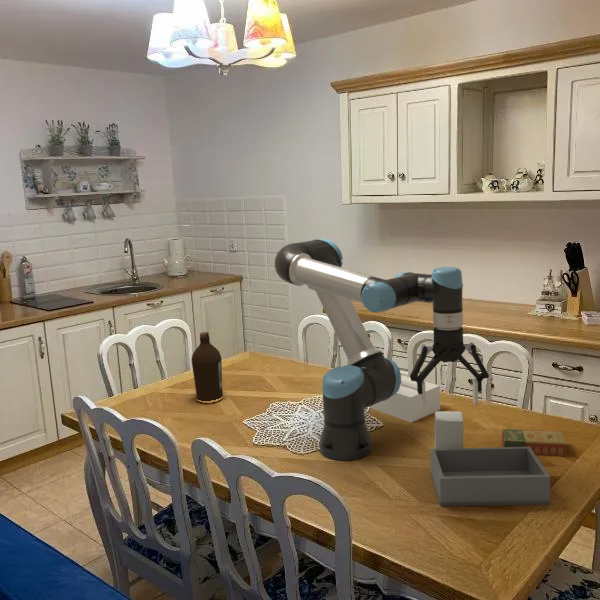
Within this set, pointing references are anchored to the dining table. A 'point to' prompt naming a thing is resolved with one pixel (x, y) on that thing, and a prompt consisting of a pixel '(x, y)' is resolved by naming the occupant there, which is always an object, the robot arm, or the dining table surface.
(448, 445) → the supplement box
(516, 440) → the carton
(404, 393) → the hammer embossed block
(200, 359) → the olive oil
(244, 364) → the dining table surface
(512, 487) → the open box
